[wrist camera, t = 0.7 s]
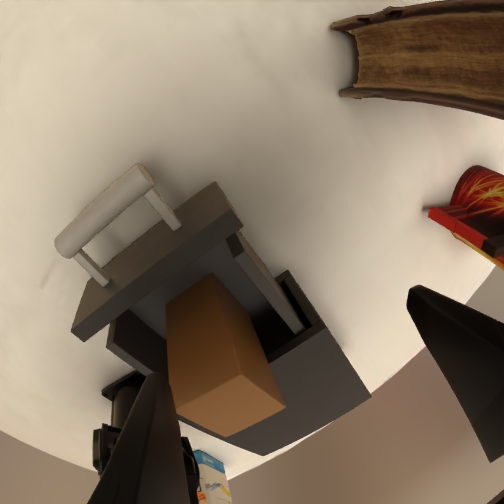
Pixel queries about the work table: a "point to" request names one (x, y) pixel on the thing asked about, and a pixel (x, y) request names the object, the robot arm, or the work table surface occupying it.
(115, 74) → the work table surface
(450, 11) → the book
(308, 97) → the work table surface
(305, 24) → the work table surface
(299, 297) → the dark grey box
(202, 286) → the box
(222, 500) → the ink box
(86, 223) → the drawer
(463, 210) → the mug
